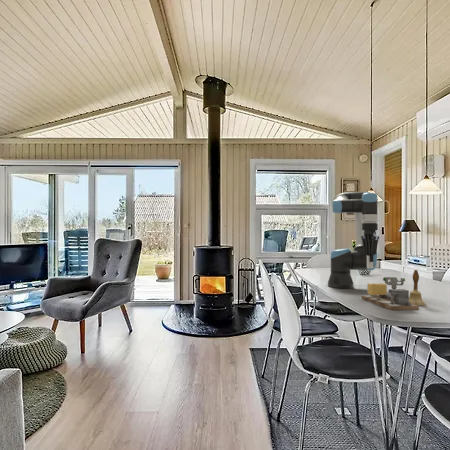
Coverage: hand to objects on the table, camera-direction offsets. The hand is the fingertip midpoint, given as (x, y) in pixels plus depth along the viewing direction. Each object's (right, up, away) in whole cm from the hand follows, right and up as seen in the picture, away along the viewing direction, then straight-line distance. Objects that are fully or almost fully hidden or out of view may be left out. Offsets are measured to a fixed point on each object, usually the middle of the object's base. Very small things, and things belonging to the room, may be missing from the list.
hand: (370, 268), depth 170 cm
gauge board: (+2, -15, -15) cm, 21 cm away
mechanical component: (+13, -16, +2) cm, 21 cm away
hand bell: (+15, -15, -14) cm, 26 cm away
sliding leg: (0, -13, -7) cm, 15 cm away
